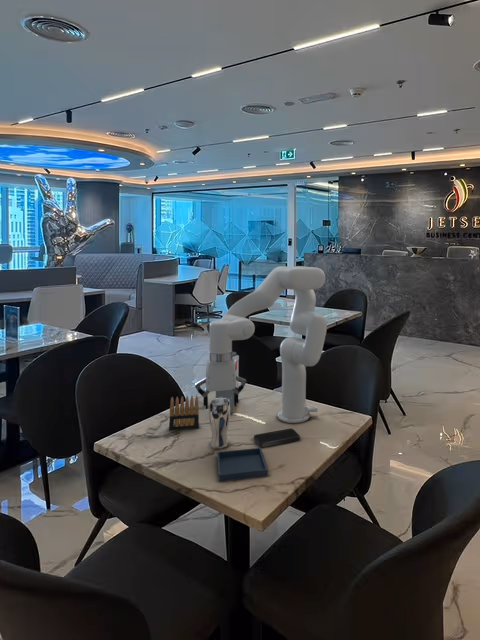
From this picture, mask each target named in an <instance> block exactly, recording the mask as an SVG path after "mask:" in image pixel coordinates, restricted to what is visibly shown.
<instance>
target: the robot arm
mask: <svg viewBox="0 0 480 640" xmlns="http://www.w3.org/2000/svg"><path fill="white" fill-rule="evenodd" d="M325 282H326V273H325V272H324V270H323V269H322V268H320V267H315V266H304V265H297V266H287V265H286V266H284V265H281V266H276V267H274V268H273V269H272V270H271V271H270V273H268V275H266V277H265V278H264V279H263V280H262V281H261V282H260V284H259V285H258V287H257V288H256V289H254V290H253V291H252V292H250V293H249V294H247V295H246V296H243V297H242V298H241V299H238V300H237V301H236V302H234V304H232V305H231V306H230V308H229V309H227V311H226V312H225V313H224V314H223V315H222V317H221V319H214V320H212V321H211V322H210V323H209V359H208V360H207V362H206V367H205V377H204V378H202V379H201V380H199V381H197V382H195V383H194V387H195V389H196V391H197V392H198V394H199V395H200V396H202V398H203V402H202V403H203V407H205V410H208V409H209V395H208V394H210V392H216V391H225V390H233V391H234V406H236V407H238V406H237V405H238V403H239V395H240V394H241V392H242V391H243V390H244V387H245V386H246V384H247V379H245V378H243V377H241V376H239V375H238V376H236V372H235V363H234V359H233V357H234V356H236V355H237V352H236V351H233V341H244V340H248V339H250V338H251V337H253V335H254V334H255V329H256V326H255V324H254V322H253V321H252V320H251V319H249V318H247V317H248V316H250V315H251V314H254V313H256V312H260V311H263V310H266V309H269V308H271V307H272V306H274V304H275V303H276V301H277V300H278V299H279V298H280V297H281V295H282V294H283V293H284V292H285V290H292V291H294V295H295V296H294V304H293V309H292V313H291V317H290V320H289V328H290V331H291V332H292V333H294V334H297V335H301V336H304V337H305V338H303V337H302V338H301V337H297V336H287V337H285V338H284V339H283V340H282V341H281V343H280V345H279V354H280V360H281V410H279V411H278V413H277V418H278V420H279V421H281V422H283V423H289V424H299V423H300V424H301V423H304V422H306V421H308V420H309V418H310V413H316V412H318V406H313V405H312V404H311V405H307V404H306V403H307V402H306V401H307V398H306V397H307V369H306V367H314V366H316V365H317V364H318V363H319V362H320V359H321V357H322V353H323V348H324V344H325V341H326V336H327V330H328V324H327V323H328V322H327V320H326V318H325V316H323V315H322V314H321V313H318V312H315V309H316V304H317V296H316V292H315V290H319V289H321V288H322V287H323V286H324V285H325ZM236 380H237V381H238V383H239V382H240V385H238V388H237V387H236ZM204 384H205V389H203V388H201V386H202V385H204Z"/></svg>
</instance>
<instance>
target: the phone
mask: <svg viewBox="0 0 480 640" xmlns="http://www.w3.org/2000/svg"><path fill="white" fill-rule="evenodd" d="M300 438H301V436H300V434H299V433H298V432H297V431H296V430H295V429H294V428H285V429H279V430H273V431H269V432H263V433H257V434H254V435H253V440H254V442H255V443H256V444H257V446H258V448H266V447H271V446H277V445H282V444H286V443H293V442H297V441H300V440H301V439H300Z"/></svg>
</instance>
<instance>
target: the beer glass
mask: <svg viewBox="0 0 480 640" xmlns="http://www.w3.org/2000/svg"><path fill="white" fill-rule="evenodd" d="M208 412H209V413H208V415H209V424H210V432H211V439H210V443H209V445H210V447H211V448H212V449H215V450H221V449H225V448H227V447H229V439H228V431H229V424H230V419H231V413H230V400H229V399H227V398H216V397H214V398H212V399H211V400H210V401H209V411H208Z"/></svg>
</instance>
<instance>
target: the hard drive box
mask: <svg viewBox="0 0 480 640" xmlns="http://www.w3.org/2000/svg"><path fill="white" fill-rule="evenodd" d="M233 359H234V363H235V372H236V376H239V367H240V365H239V364H240V363H239V362H240V355H238V354H236V356H234V357H233ZM236 387H237V388H238V387H239V381H237V380H236ZM215 398H227V399H229V400H230V414H235V410H236V408H237V406H234V391H233V390H225V391H215Z"/></svg>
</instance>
